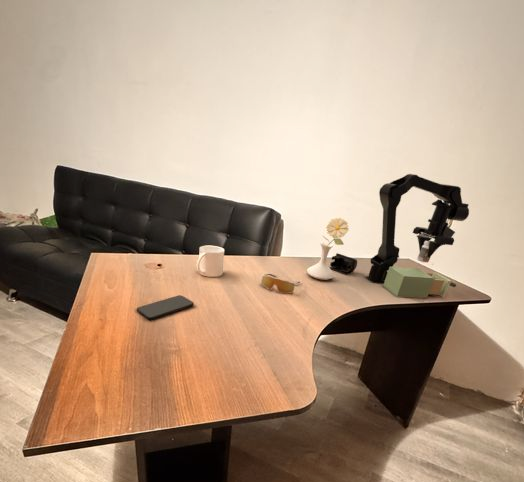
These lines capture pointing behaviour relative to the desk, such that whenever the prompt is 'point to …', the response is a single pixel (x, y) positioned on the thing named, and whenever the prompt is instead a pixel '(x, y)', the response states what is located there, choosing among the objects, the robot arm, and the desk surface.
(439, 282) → the drawer
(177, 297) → the smartphone
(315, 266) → the flower in vase
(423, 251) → the pill bottle
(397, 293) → the cabinet
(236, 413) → the desk surface
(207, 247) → the mug
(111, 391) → the desk surface
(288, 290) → the sunglasses
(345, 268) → the end cap
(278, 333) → the desk surface
